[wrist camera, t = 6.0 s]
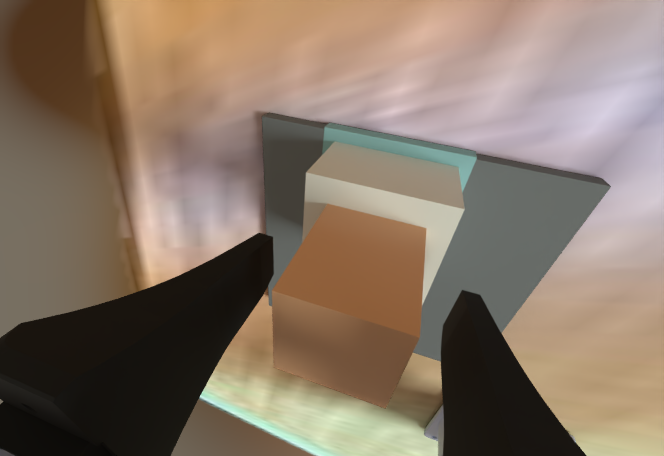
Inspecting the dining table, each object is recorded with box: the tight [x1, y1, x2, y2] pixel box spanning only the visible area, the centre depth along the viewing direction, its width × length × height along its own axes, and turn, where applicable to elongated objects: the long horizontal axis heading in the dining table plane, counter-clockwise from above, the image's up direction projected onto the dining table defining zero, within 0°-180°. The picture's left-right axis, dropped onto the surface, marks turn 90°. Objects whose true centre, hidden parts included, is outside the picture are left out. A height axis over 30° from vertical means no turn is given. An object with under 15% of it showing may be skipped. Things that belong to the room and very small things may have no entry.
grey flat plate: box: [262, 113, 611, 361], centre depth 18 cm, size 16×15×1 cm
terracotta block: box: [272, 204, 427, 409], centre depth 11 cm, size 4×4×5 cm
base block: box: [302, 141, 465, 305], centre depth 14 cm, size 6×6×4 cm
